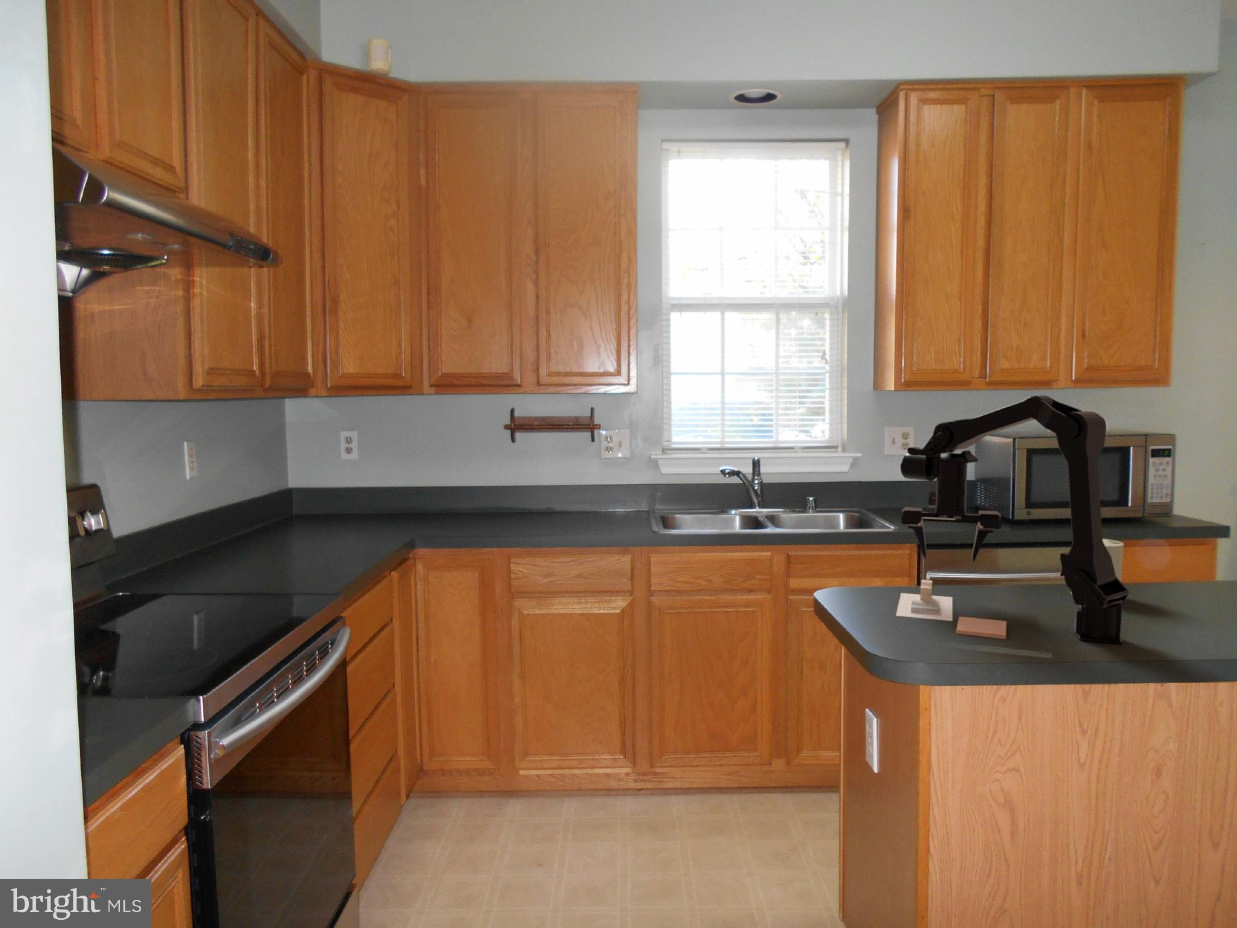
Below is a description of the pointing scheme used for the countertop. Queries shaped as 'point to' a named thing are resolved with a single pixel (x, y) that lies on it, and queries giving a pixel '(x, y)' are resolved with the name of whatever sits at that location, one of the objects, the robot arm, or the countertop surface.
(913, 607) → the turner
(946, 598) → the board
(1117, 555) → the can
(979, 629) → the tile
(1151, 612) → the countertop surface
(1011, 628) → the countertop surface
